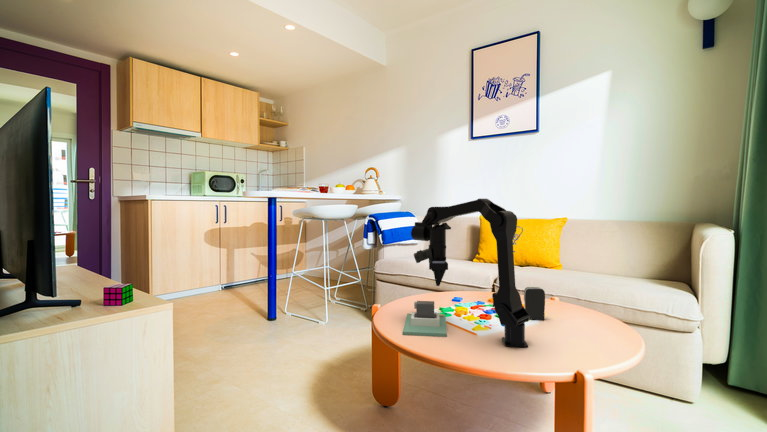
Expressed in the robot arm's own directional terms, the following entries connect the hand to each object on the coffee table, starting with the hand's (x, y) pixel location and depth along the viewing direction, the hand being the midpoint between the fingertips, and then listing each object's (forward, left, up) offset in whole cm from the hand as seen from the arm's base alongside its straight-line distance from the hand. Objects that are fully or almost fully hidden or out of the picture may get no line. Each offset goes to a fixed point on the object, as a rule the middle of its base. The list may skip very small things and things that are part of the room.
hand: (437, 285), depth 132 cm
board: (-5, +4, -13) cm, 14 cm away
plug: (-5, +4, -12) cm, 13 cm away
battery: (+8, -35, -13) cm, 38 cm away
